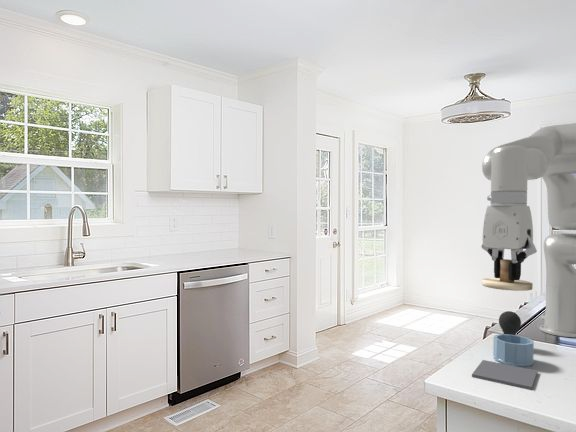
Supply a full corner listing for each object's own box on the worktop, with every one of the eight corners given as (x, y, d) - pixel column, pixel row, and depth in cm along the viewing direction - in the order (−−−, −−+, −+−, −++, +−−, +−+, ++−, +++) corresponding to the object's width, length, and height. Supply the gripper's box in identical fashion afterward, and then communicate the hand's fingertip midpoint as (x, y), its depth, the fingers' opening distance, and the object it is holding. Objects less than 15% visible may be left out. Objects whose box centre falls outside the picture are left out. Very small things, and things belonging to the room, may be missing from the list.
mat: (482, 362, 109) (482, 359, 109) (537, 373, 102) (537, 370, 102) (471, 376, 99) (472, 374, 99) (531, 389, 92) (531, 386, 92)
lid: (487, 281, 107) (487, 256, 107) (534, 286, 101) (535, 259, 101) (477, 287, 99) (478, 260, 99) (529, 292, 93) (530, 263, 93)
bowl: (497, 352, 117) (497, 332, 117) (535, 359, 111) (535, 338, 111) (490, 361, 109) (490, 340, 109) (531, 369, 104) (531, 347, 104)
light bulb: (524, 349, 119) (525, 313, 119) (505, 349, 119) (506, 313, 119) (512, 343, 125) (513, 309, 125) (494, 343, 125) (494, 309, 125)
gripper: (467, 200, 105) (466, 275, 106) (533, 198, 91) (531, 285, 91) (487, 200, 109) (486, 273, 109) (553, 199, 95) (552, 283, 95)
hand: (507, 278), depth 100 cm, fingers closed on lid, 3 cm apart
